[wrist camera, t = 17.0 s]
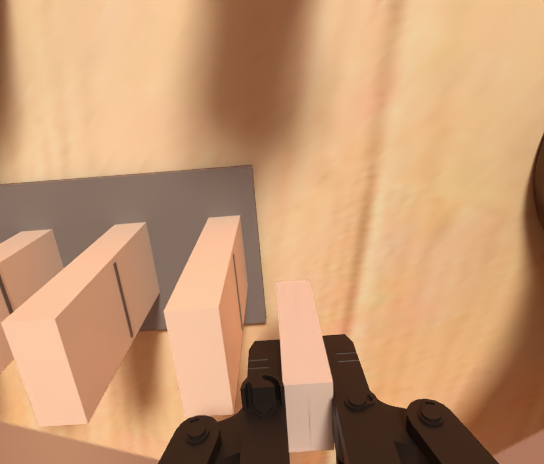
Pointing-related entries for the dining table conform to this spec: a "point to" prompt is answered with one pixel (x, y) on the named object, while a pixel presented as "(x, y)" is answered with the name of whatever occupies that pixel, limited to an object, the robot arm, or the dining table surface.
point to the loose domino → (24, 275)
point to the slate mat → (143, 220)
